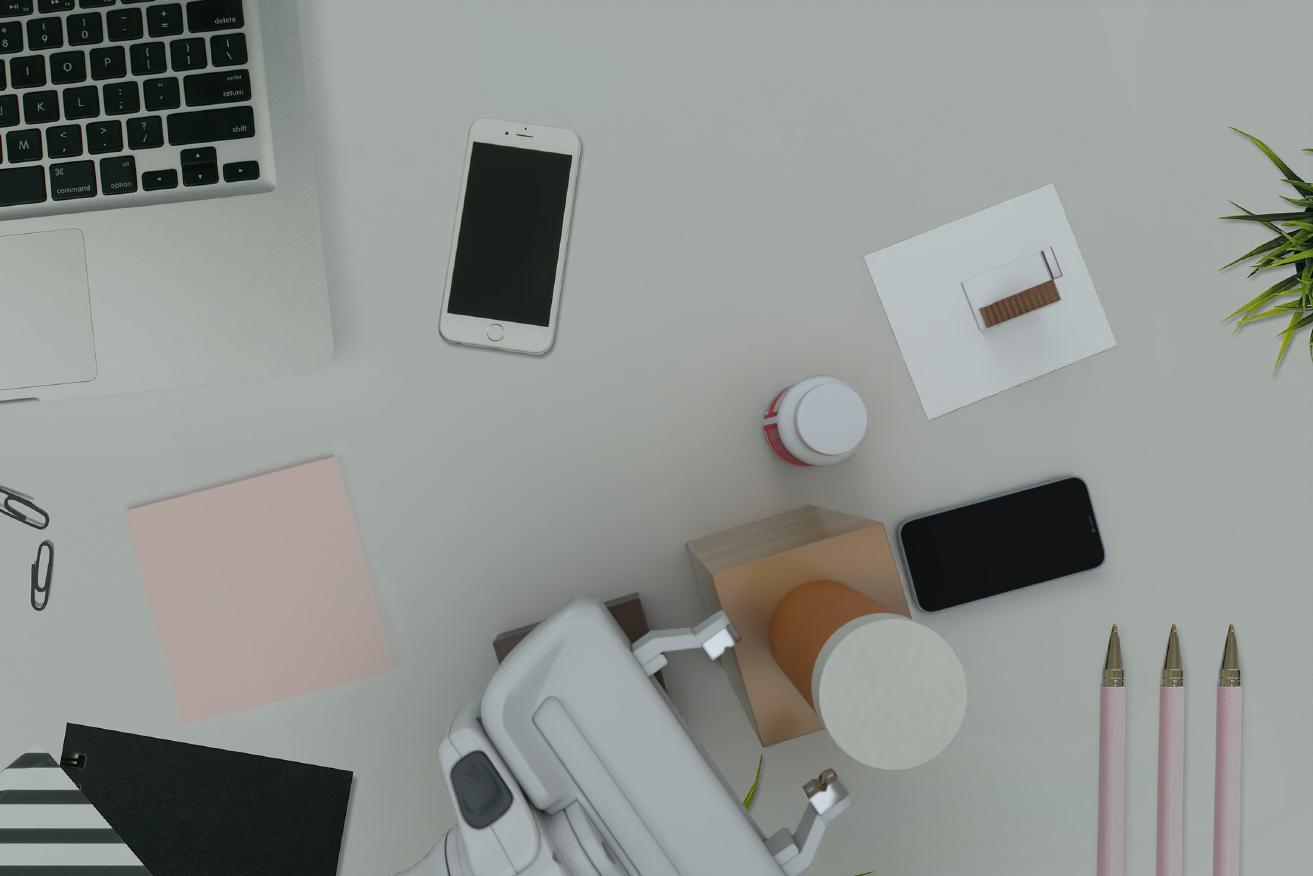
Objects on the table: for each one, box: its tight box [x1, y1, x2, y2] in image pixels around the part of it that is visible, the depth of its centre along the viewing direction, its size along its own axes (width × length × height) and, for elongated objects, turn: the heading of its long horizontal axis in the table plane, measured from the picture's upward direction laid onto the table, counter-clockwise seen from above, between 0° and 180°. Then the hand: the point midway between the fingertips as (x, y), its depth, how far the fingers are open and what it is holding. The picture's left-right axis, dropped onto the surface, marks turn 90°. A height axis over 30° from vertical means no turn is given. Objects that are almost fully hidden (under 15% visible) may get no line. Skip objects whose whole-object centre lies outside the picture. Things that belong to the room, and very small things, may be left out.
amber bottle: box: [769, 580, 969, 771], centre depth 46 cm, size 6×6×14 cm
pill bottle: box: [761, 375, 869, 467], centre depth 68 cm, size 6×6×11 cm
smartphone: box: [895, 475, 1107, 614], centre depth 73 cm, size 7×1×15 cm
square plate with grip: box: [863, 182, 1118, 421], centre depth 71 cm, size 16×14×6 cm
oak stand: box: [685, 504, 913, 749], centre depth 63 cm, size 10×10×20 cm
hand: (788, 703), depth 46 cm, fingers open, 8 cm apart
